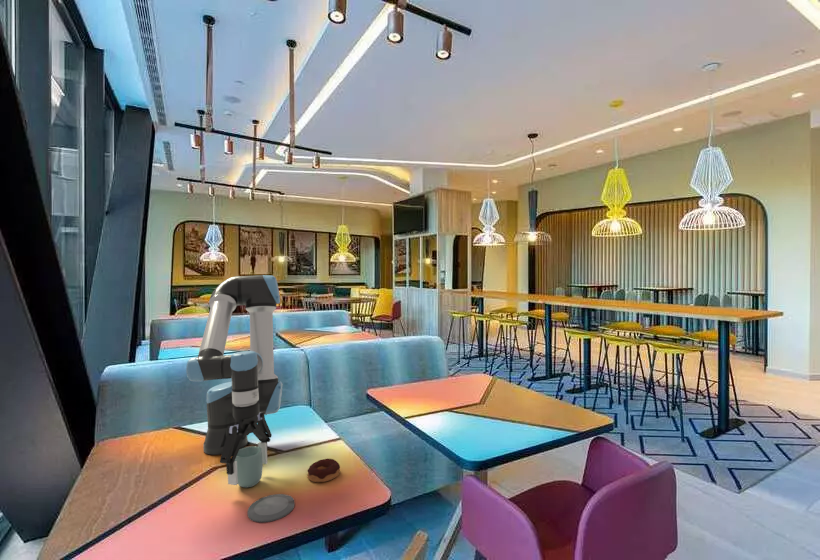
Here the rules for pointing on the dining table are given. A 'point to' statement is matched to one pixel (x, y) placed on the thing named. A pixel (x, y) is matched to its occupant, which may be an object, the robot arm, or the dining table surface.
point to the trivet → (271, 508)
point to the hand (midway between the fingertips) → (248, 473)
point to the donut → (323, 470)
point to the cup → (249, 466)
